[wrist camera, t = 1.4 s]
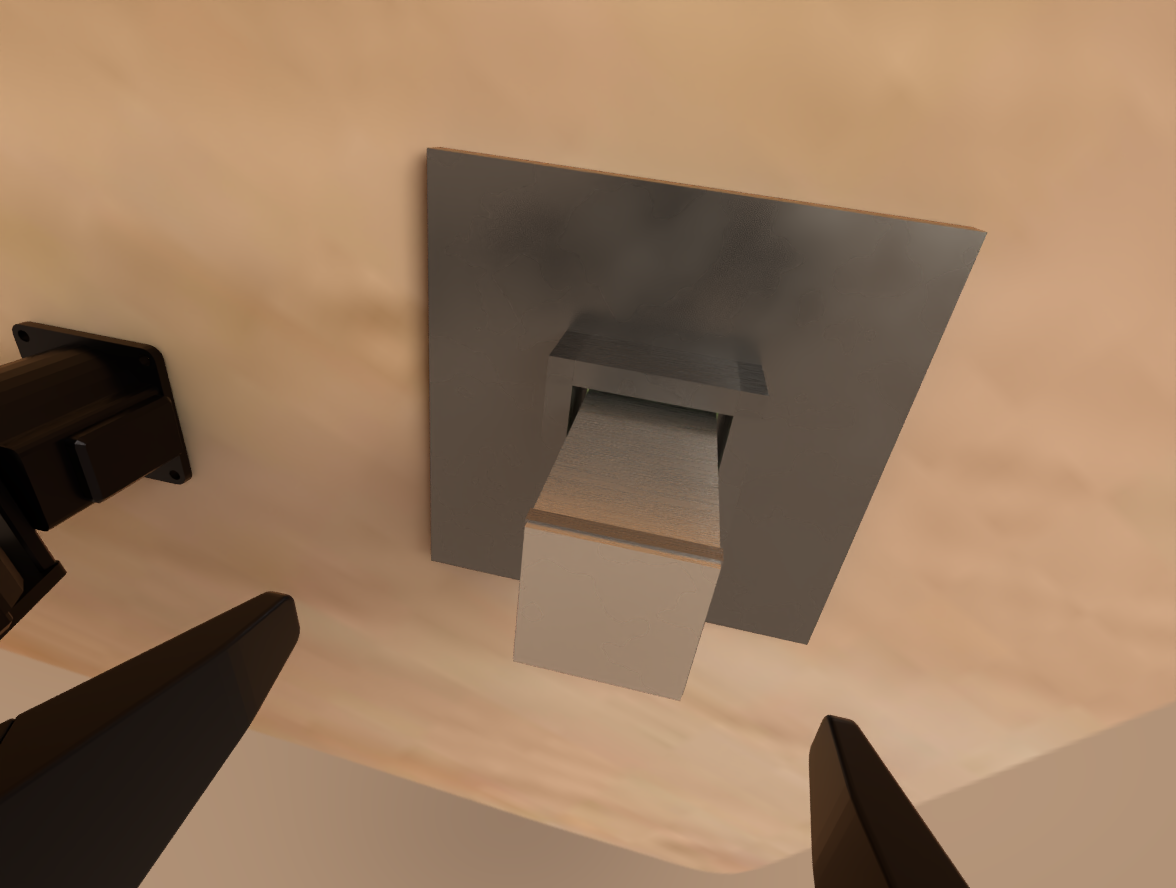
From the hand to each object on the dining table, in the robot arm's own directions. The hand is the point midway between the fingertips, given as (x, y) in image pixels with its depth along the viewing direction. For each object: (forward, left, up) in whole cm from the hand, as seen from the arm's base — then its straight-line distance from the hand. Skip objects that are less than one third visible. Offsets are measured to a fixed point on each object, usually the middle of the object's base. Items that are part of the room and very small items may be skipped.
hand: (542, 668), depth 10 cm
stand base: (+1, -1, -13) cm, 13 cm away
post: (+1, -1, -12) cm, 12 cm away
